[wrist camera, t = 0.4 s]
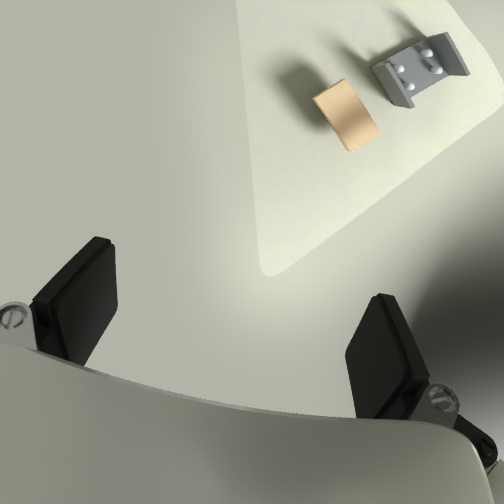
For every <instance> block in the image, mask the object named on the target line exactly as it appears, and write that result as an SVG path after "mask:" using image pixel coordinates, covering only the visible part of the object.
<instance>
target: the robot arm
mask: <svg viewBox="0 0 504 504" xmlns="http://www.w3.org/2000/svg"><path fill="white" fill-rule="evenodd" d="M32 300H33V302H32V303H31V304H30V305H29V306H28V305H26V304H24V303H22V302H9V303H6V304H4V305H2V306H0V504H504V462H503V461H502V460H501V459H500V460H499V461H497V460H496V459H497V455H498V451H497V447H496V444H495V442H494V441H493V439H492V438H491V437H489V436H488V435H487V434H486V433H484V432H483V431H481V430H480V429H478V428H477V427H476V426H474V425H473V424H472V423H470V422H469V421H467V420H466V419H465V418H463V417H462V416H461V415H459V414H458V412H459V408H460V403H459V399H458V397H457V395H456V394H455V392H454V391H453V390H452V389H450V388H449V387H448V386H446V385H444V384H440V383H432V384H430V383H429V381H428V378H429V377H430V375H429V372H428V370H427V368H426V365H425V363H424V360H423V358H422V356H421V353H420V351H419V349H418V347H417V344H416V342H415V340H414V337H413V335H412V333H411V331H410V329H409V326H408V324H407V322H406V320H405V318H404V316H403V314H402V311H401V309H400V307H399V305H398V303H397V301H396V299H395V297H394V296H392V295H387V294H381V293H379V294H377V295H376V296H373V297H372V298H371V300H370V302H369V304H368V307H367V309H366V311H365V313H364V315H363V317H362V319H361V321H360V323H359V325H358V327H357V329H356V331H355V334H354V335H353V337H352V339H351V341H350V343H349V345H348V347H347V349H346V353H345V359H346V364H347V369H348V374H349V379H350V385H351V390H352V395H353V400H354V406H355V412H356V418H342V417H327V416H315V415H304V414H295V413H286V412H278V411H270V410H263V409H256V408H250V407H244V406H238V405H232V404H226V403H221V402H216V401H211V400H206V399H201V398H196V397H191V396H187V395H183V394H178V393H174V392H170V391H165V390H162V389H158V388H154V387H150V386H147V385H143V384H139V383H136V382H132V381H129V380H125V379H122V378H119V377H115V376H112V375H109V374H106V373H103V372H100V371H96V370H93V369H90V368H87V367H84V365H85V363H86V361H87V360H88V358H89V356H90V355H91V353H92V351H93V349H94V348H95V346H96V345H97V343H98V341H99V339H100V338H101V336H102V334H103V333H104V331H105V330H106V328H107V326H108V325H109V323H110V321H111V320H112V318H113V316H114V315H115V313H116V311H117V306H118V301H117V285H116V265H115V246H114V244H111V241H110V240H109V239H106V238H101V237H96V236H95V237H93V238H92V240H90V241H89V242H88V243H87V244H86V245H85V246H84V247H83V248H82V249H81V250H80V251H79V252H78V253H77V254H76V255H75V256H74V257H73V258H72V259H71V260H70V261H69V262H68V263H67V264H66V265H65V266H64V267H63V268H62V269H61V270H60V271H59V272H58V273H57V274H56V275H55V276H54V277H53V278H52V279H51V280H50V281H49V282H48V283H47V284H46V285H45V286H44V287H43V288H42V289H41V290H40V292H39V293H38V294H37V295H36V296H35V297H34V298H33V299H32Z"/></svg>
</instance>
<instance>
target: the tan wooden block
mask: <svg viewBox="0 0 504 504" xmlns="http://www.w3.org/2000/svg"><path fill="white" fill-rule="evenodd" d="M312 99H313V101H314V102H315V104H316V105H317V106H318V108H319V109H320V111H321V112H322V113H323V115H324V116H325V118H326V119H327V121H328V122H329V124H330V125H331V127H332V128H333V130H334V131H335V133H336V134H337V136H338V137H339V139H340V140H341V142H342V143H343V145H344V146H345V148H346V149H347V150H348V151H349V152H352V151H354V150H355V149H357V148H358V147H360V146H362V145H363V144H365V143H366V142H368V141H370V140H371V139H373V138H374V137H376V136H378V135H379V134H381V133H380V131H379V129H378V128H377V126H376V124H375V123H374V121H373V119H372V118H371V116H370V114H369V113H368V111H367V110H366V108H365V106H364V105H363V103H362V102H361V100H360V99H359V97H358V96H357V94H356V93H355V91H354V90H353V88H352V87H351V85H350V84H349V82H348V81H347V79H342V80H340V81H338V82H337V83H335V84H333V85H332V86H330V87H329V88H327V89H325V90H324V91H322V92H321V93H319V94H317V95H316V96H314V97H313V98H312Z"/></svg>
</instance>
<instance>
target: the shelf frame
mask: <svg viewBox="0 0 504 504" xmlns="http://www.w3.org/2000/svg"><path fill="white" fill-rule="evenodd" d="M371 70H372V71H373V73H374V74H375V76H376V77H377V79H378V80H379V82H380V83H381V85H382V87H383V88H384V90H385V91H386V93H387V95H388V96H389V98H390V100H391V101H392V103H393V105H394V106H400V107H405V108H411V109H412V108H413V107H415V105H414V104H413V102H412V100H411V97H412V96H414V95H416V94H417V93H419V92H421V91H423V90H424V89H426V88H428V87H429V86H431V85H433V84H435V83H436V82H438V81H440V80H442V79H443V78H445V77H447V76H449V75H458V76H468V75H470V72H469V70H468V68H467V66H466V65H465V63H464V61H463V59H462V57H461V55H460V53H459V51H458V50H457V48H456V46H455V44H454V42H453V41H452V39H451V37H450V36H449V34H448V32H445V33H441V34H437V35H433V36H429V37H426V38H424V39H422V40H420V41H418V42H416V43H414V44H412V45H411V46H409V47H407V48H405V49H403V50H401V51H399V52H397V53H396V54H394V55H392V56H390V57H388V58H386V59H385V60H383V61H381V62H379V63H378V64H376V65H374V66H372V67H371Z"/></svg>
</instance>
